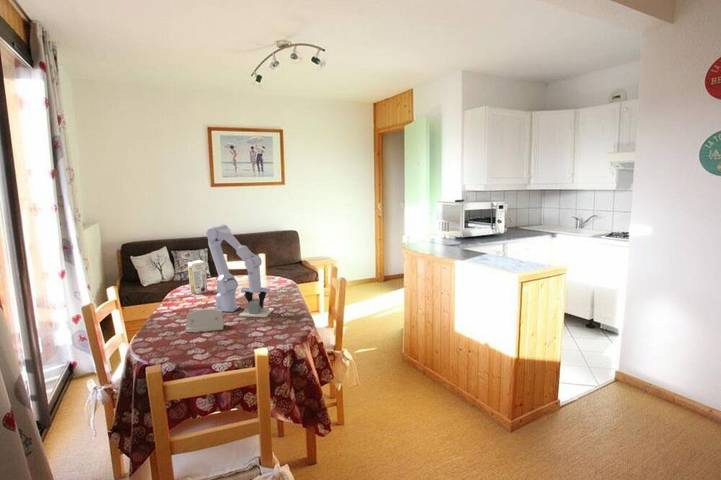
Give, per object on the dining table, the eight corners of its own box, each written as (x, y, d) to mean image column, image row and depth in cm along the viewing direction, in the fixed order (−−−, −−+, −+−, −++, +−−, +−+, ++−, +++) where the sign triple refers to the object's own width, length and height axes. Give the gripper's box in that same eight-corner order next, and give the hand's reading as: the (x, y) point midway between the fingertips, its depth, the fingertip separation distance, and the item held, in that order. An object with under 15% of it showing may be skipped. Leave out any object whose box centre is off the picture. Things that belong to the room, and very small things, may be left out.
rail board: (239, 316, 202) (238, 311, 201) (248, 308, 212) (248, 304, 212) (265, 317, 199) (265, 312, 199) (274, 309, 210) (273, 305, 210)
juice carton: (209, 291, 247) (206, 260, 244) (196, 295, 240) (193, 263, 237) (201, 289, 251) (198, 259, 248) (189, 293, 244) (185, 262, 241)
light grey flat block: (184, 333, 182) (184, 310, 183) (187, 333, 186) (186, 310, 188) (223, 329, 185) (222, 307, 187) (225, 329, 190) (224, 307, 191)
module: (248, 313, 202) (247, 303, 201) (254, 308, 209) (253, 298, 208) (258, 313, 201) (257, 303, 200) (263, 308, 208) (262, 298, 207)
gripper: (237, 282, 200) (239, 308, 203) (265, 282, 198) (267, 309, 200) (243, 278, 207) (245, 304, 209) (270, 278, 205) (272, 304, 207)
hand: (256, 306), depth 205 cm, fingers closed on module, 5 cm apart
